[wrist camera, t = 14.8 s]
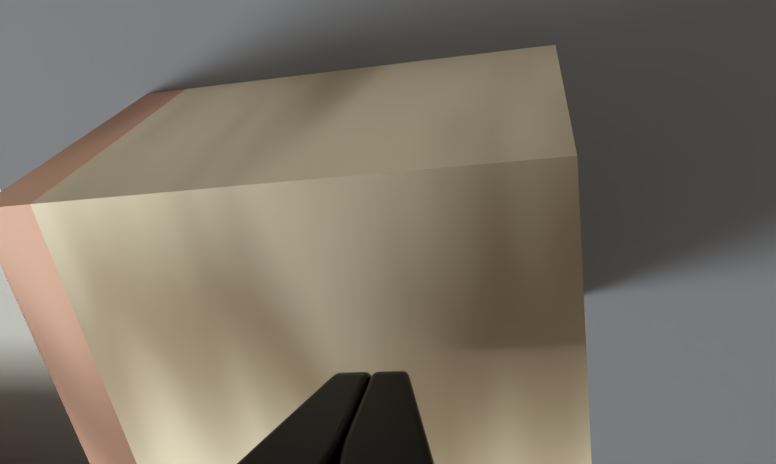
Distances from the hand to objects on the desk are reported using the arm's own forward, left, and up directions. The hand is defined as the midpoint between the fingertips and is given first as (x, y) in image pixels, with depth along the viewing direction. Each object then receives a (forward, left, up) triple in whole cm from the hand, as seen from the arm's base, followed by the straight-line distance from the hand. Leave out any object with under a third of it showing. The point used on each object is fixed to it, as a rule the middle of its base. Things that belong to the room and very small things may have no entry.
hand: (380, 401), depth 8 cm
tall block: (0, -2, -4) cm, 4 cm away
